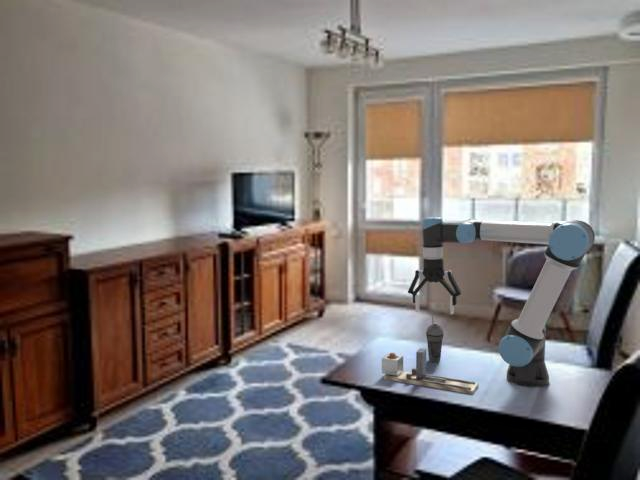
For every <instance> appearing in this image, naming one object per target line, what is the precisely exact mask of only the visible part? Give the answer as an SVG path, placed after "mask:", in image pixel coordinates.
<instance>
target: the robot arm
mask: <svg viewBox="0 0 640 480" xmlns="http://www.w3.org/2000/svg"><path fill="white" fill-rule="evenodd" d="M421 225H422V226H421V227H422V229H421V231H422V257H423V260H422V261H423V263H422V264H423V270H421V269H416V270H415V273H414V277H413V279H412V282H411V284H410V286H409V289H407V294H411V296H412V303H413V304H415V313H419V312H420V294H418V293H419V292H420V290H421V289H422V288H423V287H424V286H425V285H426V283H427V282H428V283H440V284H441V285H442V286H443V288H445V290H446V291H447V292H448V293H449V294H450V295H451V296H450V298H449V306H450V307H449V308H450V312H449V313H450V314H449V315H453V314H454V313H455V306H456V305H457V304H458V303H457V302H458V301H457V297H459V296H460V295H462V292H461V289H460V287H459V285H458V283H457V282H456V280H455V278H454V276H453V275H454V274H453V270H451V269H450V270H446V271H445V269H444V267H445V266H444V258H443V257H444V244H446V243H447V244H449V243H452V244H453V243H454V244H455V243H456V244H468V243H469V244H470V243H473V242H474V241H475V240H476V241H493V242H505V243H506V242H507V243H508V242H509V243H520V244H521V243H522V244H536V245H547V247H546V249H545V252H544V253H543V254H544V258H545V259H546V260H545V262H544V264H543V267H542V269H541V270H540V273H539V275H538V277H537V279H536V281H535V284H534V285H533V288H532V290H531V291H530V293H529V295H528V298H527V299H526V301H525V304H524V306H523V308H522V310H521V313H520V314H519V317H518V318H516V319H514V320H512V321H511V323H510V326H509V327H508V328H507V330H506V333H505V335H504V336H503V337H502V338H501V339H500V341H499V344H498V352H499V355H500V358H501V359H502V360H503V361H504V362H505V363H506V364H508V368H507V369H506V380H507V381H508V382H510V383H511V384H515V385H517V386H521V387H531V388H534V387H535V388H539V387H543V386H547V385H548V384H549V383H550V375H549V372H548V371H549V370H548V369H547V365H546V362H545V361H546V359H545V358H546V356H545V355H546V332H547V328H546V323H547V321H548V319H549V317H550V315H551V313H552V311H553V309H554V306H555V305H556V303H557V301H558V299H559V297H560V295H561V293H562V291H563V289H564V287H565V286H566V285H565V284H566V282H567V280H568V279H569V277H570V275H571V272H572V271H574V270H577V269H579V267H580V266H581V264H582V262H583V260H584V257H585V256H586V254H587V252H588V251H589V250H590V249H591V248H592V247H593V245H594V242H595V238H596V235H595V234H596V233H595V230H594V229H593V227H592V226H591V225H590V224H588V223H587V222H585V221H583V220H579V219H578V220H577V219H576V220H563V221H562V220H560V221H559V220H555V221H554V222H552V223H543V222H542V223H541V222H538V223H537V222H521V221H504V220H503V221H502V220H501V221H500V220H481V219H480V220H478V219H475V218H470V219H469V218H468V219H466V220H462V221H458V222H443V218H442V217H440V216H439V217H438V216H432V217H429V216H428V217H425V218H423V219H422V224H421ZM422 275H423V276H424V278H423V279H422V281H421V282H420V283H419V284H418V286H417V287H416V285H417V283H418V281H419V278H420V277H421V276H422ZM444 276H446V277H447V278H448V280H449V281H448V282H450V284H449V283H448V282H447V281H446V279H445V278H444ZM450 285H451V286H450Z"/></svg>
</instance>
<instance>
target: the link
mask: <svg viewBox="0 0 640 480" xmlns="http://www.w3.org/2000/svg"><path fill="white" fill-rule="evenodd" d="M402 371H404V355H401V354H396V355H395V359H392V358H390V353H386V354H385V355H384V356H383V357H382V358H381V374H384V375H386V374H389V375H395V376H398V375H399V374H400V373H401V372H402Z"/></svg>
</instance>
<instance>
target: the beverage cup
mask: <svg viewBox="0 0 640 480" xmlns="http://www.w3.org/2000/svg"><path fill="white" fill-rule="evenodd" d="M430 316H431V323H432V324H430V325H429V326H428V327H427V328H426V332H425V334H426V342H427V353H428V361H429V362H430V363H434V364H435V363H439V362H441V357H442V346H443V339H444V335H445V334H444V330H443V327H442V326H441V325H439V324H436V323H434V314H433V313H431V315H430Z"/></svg>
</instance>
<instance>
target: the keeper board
mask: <svg viewBox="0 0 640 480" xmlns="http://www.w3.org/2000/svg"><path fill="white" fill-rule="evenodd" d="M389 354H390V358H392V359H395V355H397V354H396V353H395V352H390V353H389ZM426 376H431V377H437V378H443V379H446V382H443V381H437V380H431V379H425V378H424V379H423V380H422V379H416V368H413V367H412V369H411V372H409V371H404V370H403V371H402V372H401V373H400V374H399V375H398V376H395V375H389V374H384V376H383V379H384V380H388V381H393V382H394V381H395V382H399V383H404V384H411V385H416V386H421V387H422V386H423V387H430V388H434V389H435V388H436V389H441V390H446V391H447V390H448V391H451V392H452V391H453V392H457V393H464V394H469V395H470V394H471V395H474V393H475V392H476V391H477V389H478V388H479V382H478V383H477V382H475V381H469V380H465V379H458V378H452V377H451V378H450V377H446V376H445V377H444V376H440V375H439V376H438V375H433V374H427V373H426Z"/></svg>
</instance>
